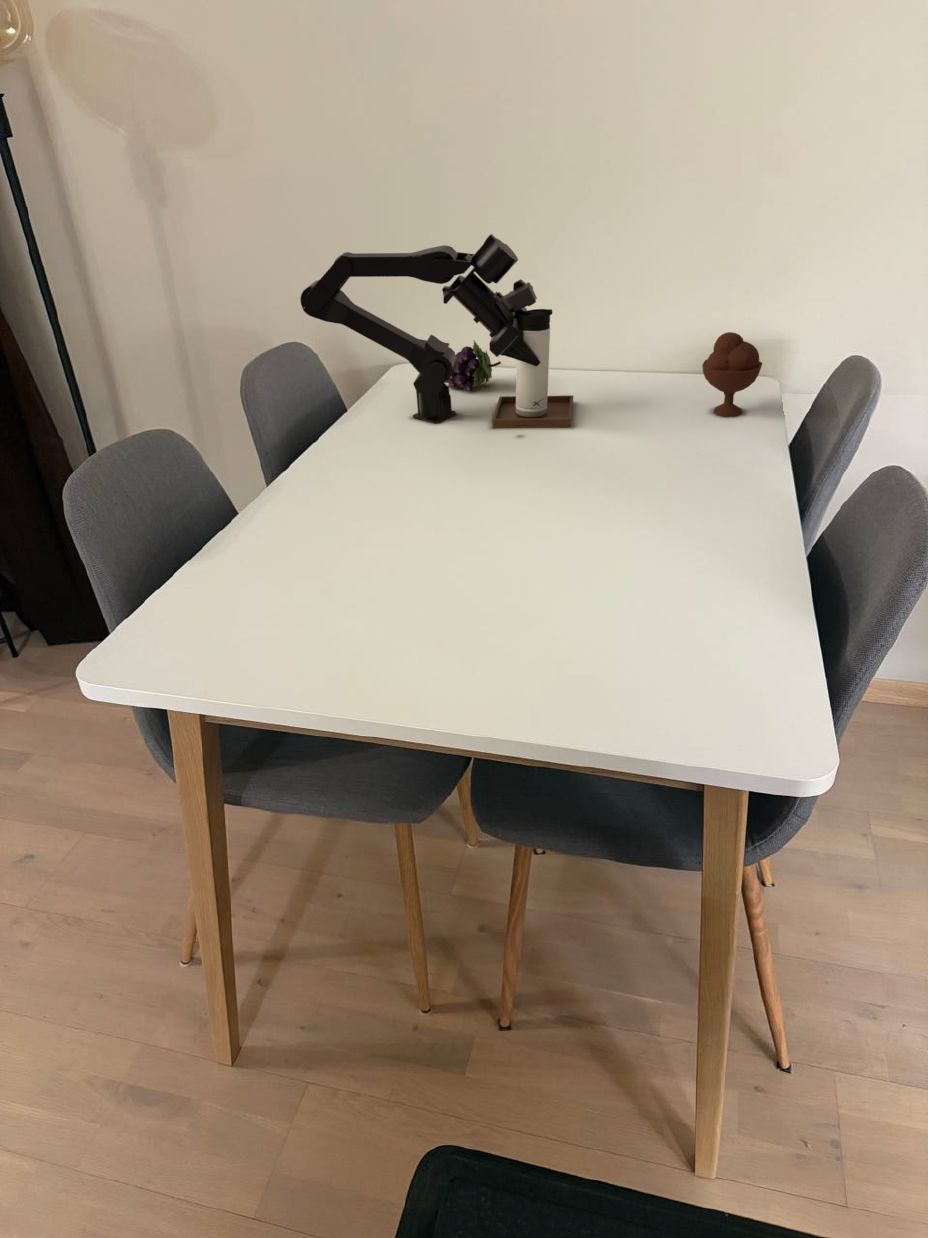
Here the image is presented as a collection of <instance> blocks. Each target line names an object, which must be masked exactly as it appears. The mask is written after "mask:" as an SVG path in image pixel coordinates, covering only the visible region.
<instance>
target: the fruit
mask: <svg viewBox="0 0 928 1238" xmlns="http://www.w3.org/2000/svg"><path fill="white" fill-rule="evenodd" d="M455 355H456V358H457V364H456V367H455V369H454V371H453V373H452V375H451V377H450V378H449V380H447V381H446V382H445V384H448V386H451V387H455V386H457V385H458V388H459V389H463V390H464V391H465V392H466V391H467V392H471V391H473V390H474V389H475V388H476V387H480V386H482V385H483V384H484V383H485V385H488V382H489V381H490V379H493V375H492V372H493V368H494V367H498V366H499V365H501V364H502V362H501V361H497V362H495V363H491V357H490V355H489V353H488V351H487V350H485V351H484V350H483V349H482V347H480V346H479V345H478V344H477V342H476V340H473V344H472V347H471V346H468V345H467V346H464V347H462V348H461V350H460V351H458V352H457V353H455Z"/></svg>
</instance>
